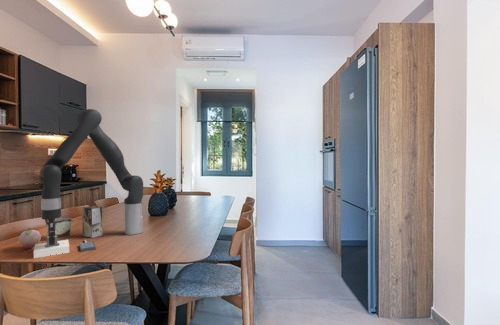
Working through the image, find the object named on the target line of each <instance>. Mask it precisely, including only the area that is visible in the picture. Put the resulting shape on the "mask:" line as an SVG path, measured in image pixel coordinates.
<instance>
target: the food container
mask: <svg viewBox="0 0 500 325" xmlns="http://www.w3.org/2000/svg"><path fill="white" fill-rule="evenodd" d="M55 221H57V226H56V232H55V235H57V240H60V239H64V238H67V237H71V229H72V222H73V218H72V217H60V218H56V219H55ZM47 222H49V220H47Z"/></svg>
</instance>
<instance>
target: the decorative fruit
mask: <svg viewBox="0 0 500 325" xmlns="http://www.w3.org/2000/svg"><path fill="white" fill-rule="evenodd" d="M41 238H42V235H41V233H40V232H39V230H35V229H32V228H31V229H30V227H28V229H26V230H24V231H22V233H20V235H19V237H18V240H19V244H20V245H21V246H22V247H24V248H26V249H31V248H33V247H35V244H40V241H41Z"/></svg>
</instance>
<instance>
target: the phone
mask: <svg viewBox="0 0 500 325" xmlns="http://www.w3.org/2000/svg"><path fill="white" fill-rule="evenodd" d="M83 241H84V242H79V244H78V245H79V249H80V252H82V253H84V252H87V251H88V252H89V251H93V250H96V248H97V246H96V245H95V242H94V241H87V239H84V240H83Z"/></svg>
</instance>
